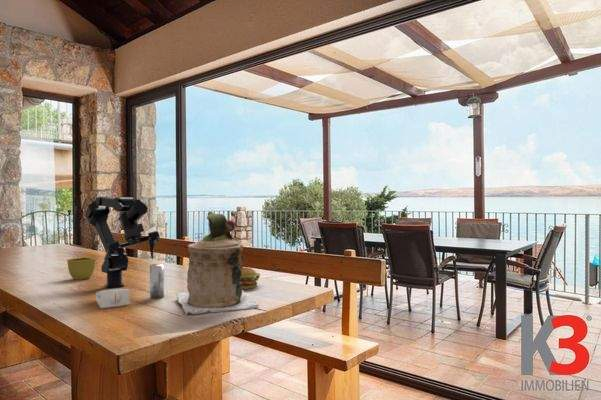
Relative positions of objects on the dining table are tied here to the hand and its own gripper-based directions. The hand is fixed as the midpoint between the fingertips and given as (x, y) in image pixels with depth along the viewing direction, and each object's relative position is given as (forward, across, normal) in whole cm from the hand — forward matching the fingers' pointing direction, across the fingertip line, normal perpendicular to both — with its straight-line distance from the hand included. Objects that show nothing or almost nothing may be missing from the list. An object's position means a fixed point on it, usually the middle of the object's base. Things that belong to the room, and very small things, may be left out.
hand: (140, 262), depth 160 cm
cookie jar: (+27, +20, -17) cm, 38 cm away
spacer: (+16, +3, -3) cm, 16 cm away
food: (+21, +36, +6) cm, 42 cm away
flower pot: (-12, -26, +41) cm, 50 cm away
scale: (+13, -12, -6) cm, 19 cm away
